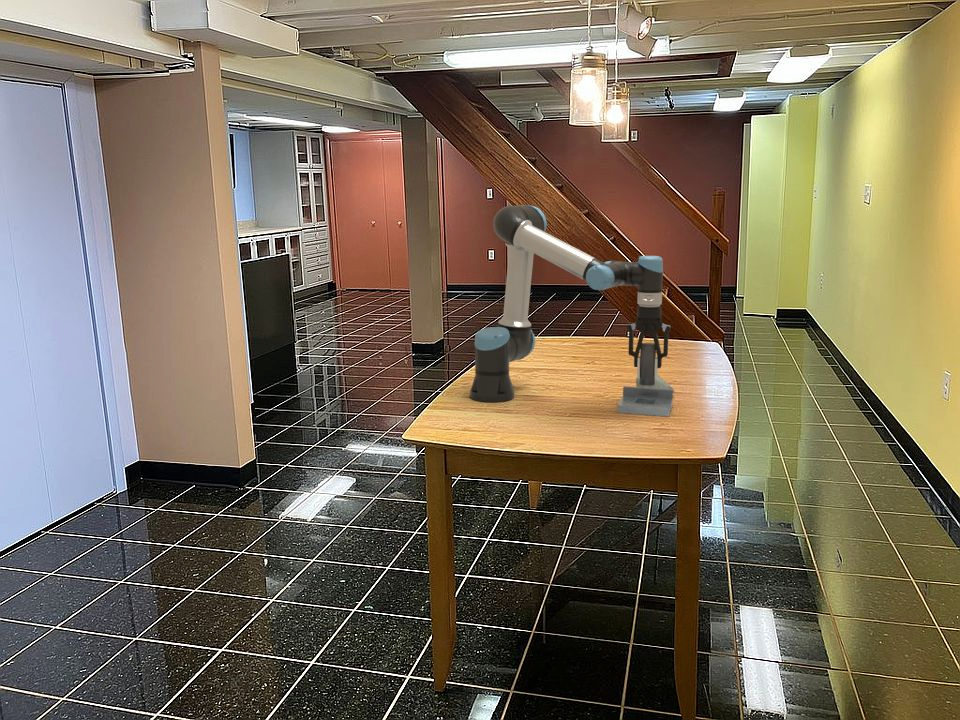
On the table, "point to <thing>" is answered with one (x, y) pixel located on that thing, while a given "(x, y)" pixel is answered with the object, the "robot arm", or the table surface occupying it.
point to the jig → (646, 401)
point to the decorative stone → (658, 384)
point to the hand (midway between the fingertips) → (647, 377)
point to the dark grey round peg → (647, 364)
